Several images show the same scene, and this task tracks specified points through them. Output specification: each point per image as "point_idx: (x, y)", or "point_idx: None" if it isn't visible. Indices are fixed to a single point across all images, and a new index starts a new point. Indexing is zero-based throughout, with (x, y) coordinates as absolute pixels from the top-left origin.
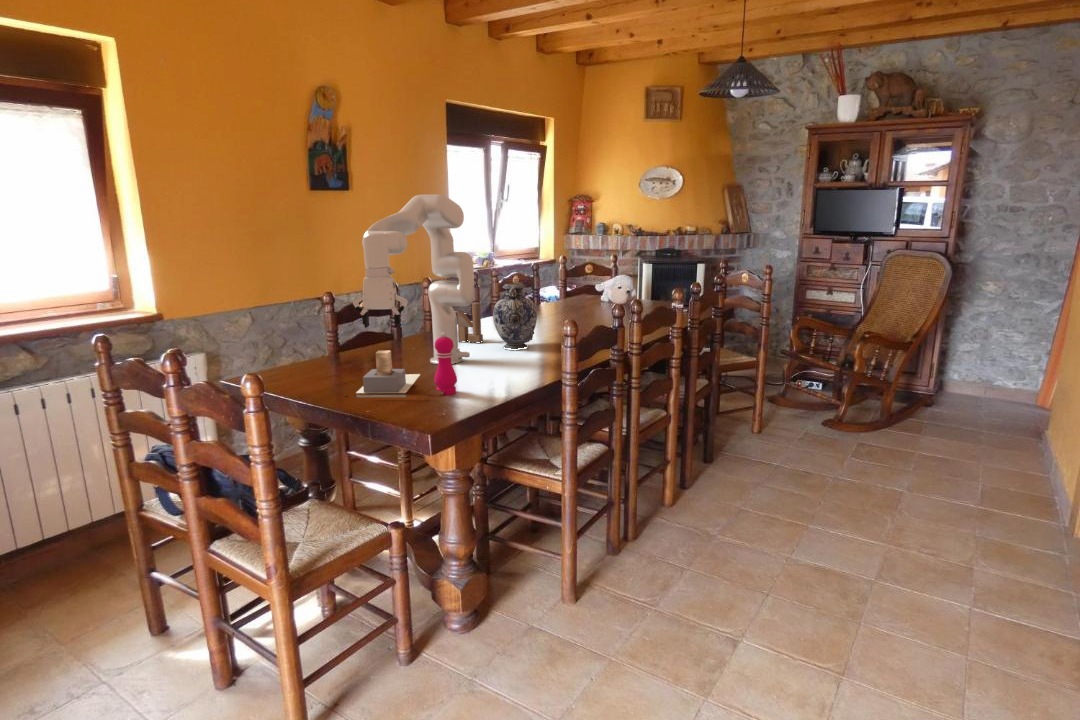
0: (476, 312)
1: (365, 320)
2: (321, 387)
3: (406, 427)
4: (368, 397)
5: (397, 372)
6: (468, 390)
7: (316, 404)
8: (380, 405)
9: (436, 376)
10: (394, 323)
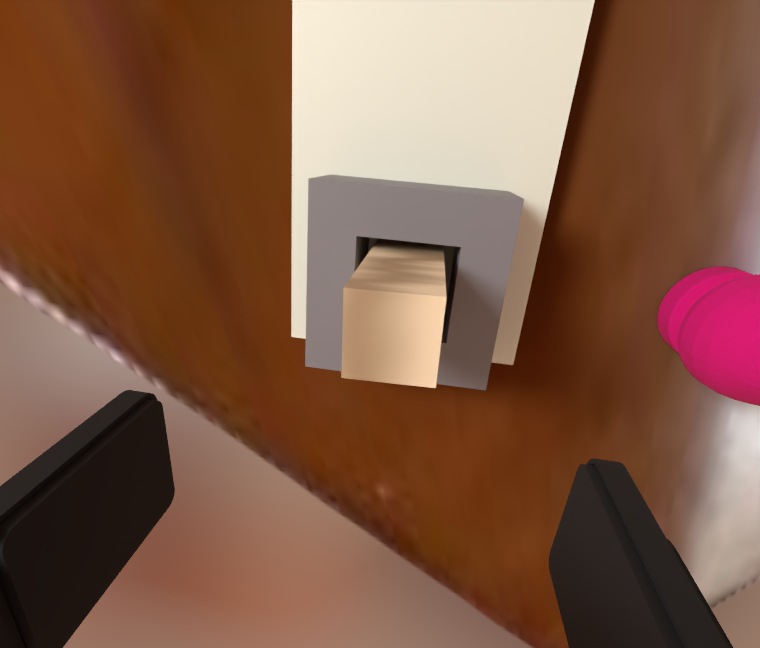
0: None
1: (101, 586)
2: (82, 133)
3: (518, 631)
4: None
5: (479, 290)
6: None
7: (182, 391)
8: (415, 439)
9: (708, 377)
10: (560, 612)
